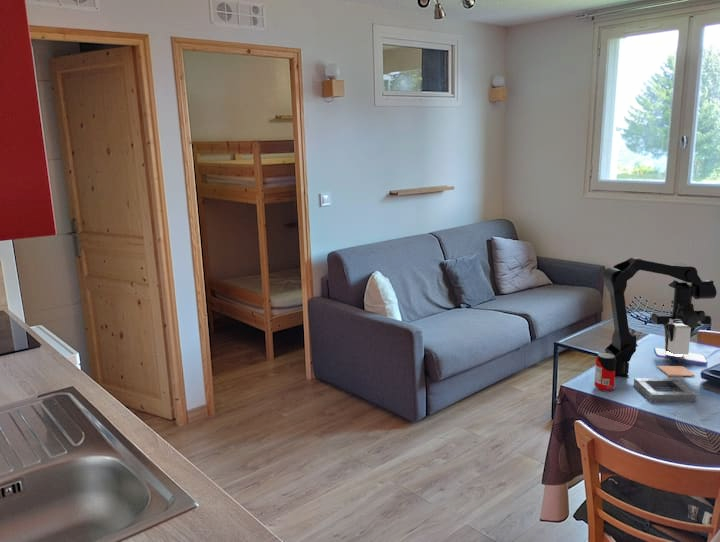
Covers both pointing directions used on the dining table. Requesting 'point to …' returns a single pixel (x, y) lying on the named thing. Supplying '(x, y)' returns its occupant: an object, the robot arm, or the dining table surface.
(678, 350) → the end plug
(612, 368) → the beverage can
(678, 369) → the terracotta tile
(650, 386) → the bore housing
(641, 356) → the dining table surface
